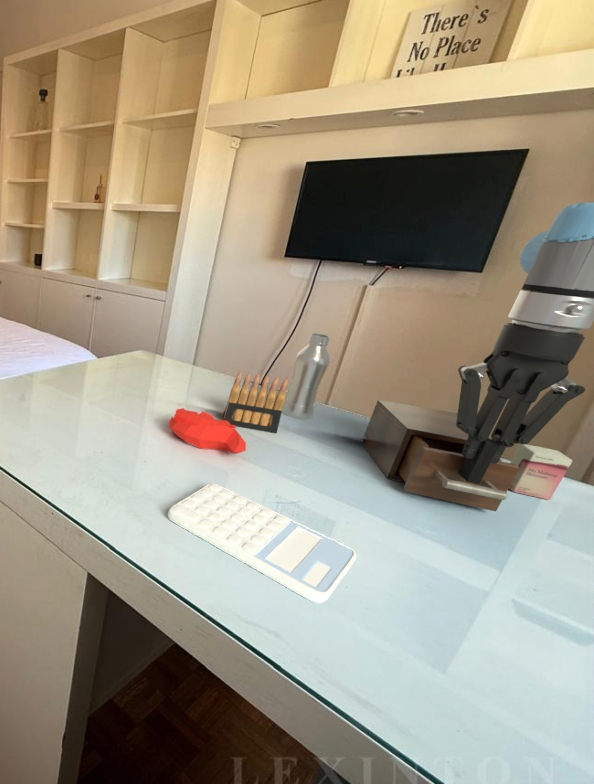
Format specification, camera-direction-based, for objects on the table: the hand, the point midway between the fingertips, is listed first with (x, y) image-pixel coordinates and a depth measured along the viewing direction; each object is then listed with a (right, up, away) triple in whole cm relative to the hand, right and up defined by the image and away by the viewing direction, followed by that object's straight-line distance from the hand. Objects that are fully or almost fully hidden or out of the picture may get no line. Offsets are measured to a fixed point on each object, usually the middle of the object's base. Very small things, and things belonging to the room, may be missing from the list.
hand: (468, 478), depth 69 cm
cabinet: (+6, -1, +16) cm, 17 cm away
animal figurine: (-31, +3, +20) cm, 37 cm away
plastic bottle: (-5, +7, +34) cm, 35 cm away
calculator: (-37, -7, -8) cm, 38 cm away
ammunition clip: (-18, +6, +29) cm, 35 cm away
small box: (+21, -4, +11) cm, 24 cm away
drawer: (+3, -3, +8) cm, 9 cm away
